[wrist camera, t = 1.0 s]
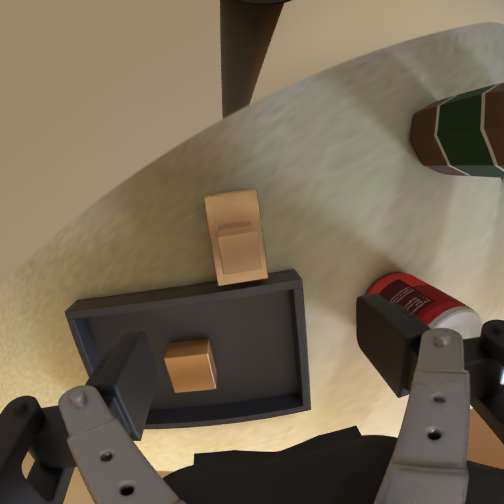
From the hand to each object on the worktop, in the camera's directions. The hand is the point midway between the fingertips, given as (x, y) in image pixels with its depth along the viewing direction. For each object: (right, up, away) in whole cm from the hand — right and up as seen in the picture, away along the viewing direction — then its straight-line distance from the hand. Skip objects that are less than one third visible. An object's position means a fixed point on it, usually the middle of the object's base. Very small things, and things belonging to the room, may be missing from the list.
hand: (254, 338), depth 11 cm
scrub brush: (-2, +5, +16) cm, 17 cm away
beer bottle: (+19, +15, +16) cm, 29 cm away
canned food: (+15, -2, +19) cm, 24 cm away
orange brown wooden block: (-6, -7, +18) cm, 20 cm away
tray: (-6, -7, +19) cm, 21 cm away
